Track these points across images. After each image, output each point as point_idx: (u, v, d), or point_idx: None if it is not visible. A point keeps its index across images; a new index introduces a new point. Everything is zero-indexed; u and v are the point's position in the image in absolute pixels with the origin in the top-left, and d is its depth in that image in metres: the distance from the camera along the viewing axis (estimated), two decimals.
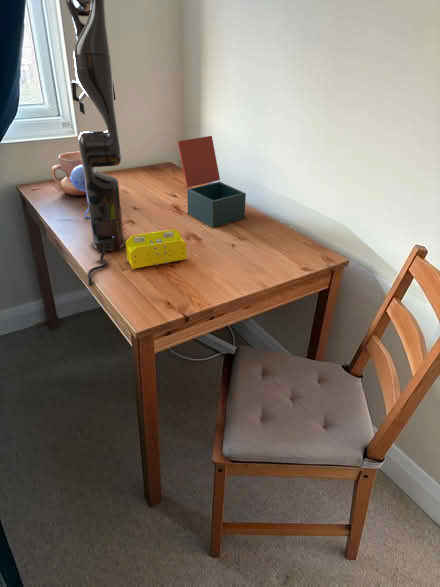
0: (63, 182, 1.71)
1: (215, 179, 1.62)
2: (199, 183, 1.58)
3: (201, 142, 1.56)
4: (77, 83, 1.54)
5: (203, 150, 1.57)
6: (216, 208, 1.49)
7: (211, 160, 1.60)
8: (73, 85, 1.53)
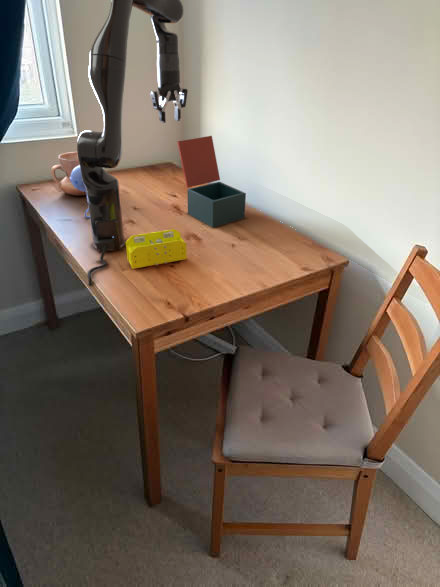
0: (63, 182, 1.71)
1: (215, 179, 1.62)
2: (199, 183, 1.58)
3: (201, 142, 1.56)
4: (157, 92, 1.52)
5: (203, 150, 1.57)
6: (216, 208, 1.49)
7: (211, 160, 1.60)
8: (155, 95, 1.52)
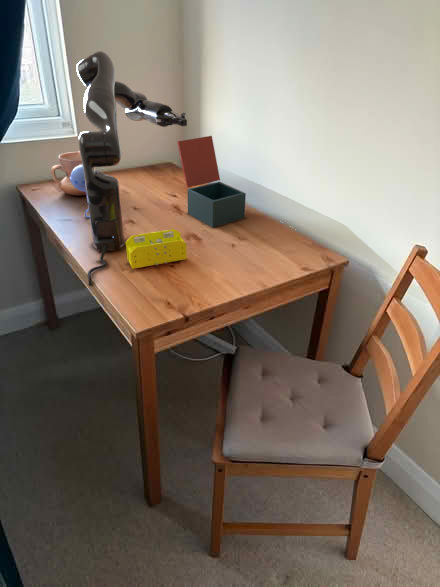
0: (63, 182, 1.71)
1: (215, 179, 1.62)
2: (199, 183, 1.58)
3: (201, 142, 1.56)
4: None
5: (203, 150, 1.57)
6: (216, 208, 1.49)
7: (211, 160, 1.60)
8: (158, 116, 1.59)
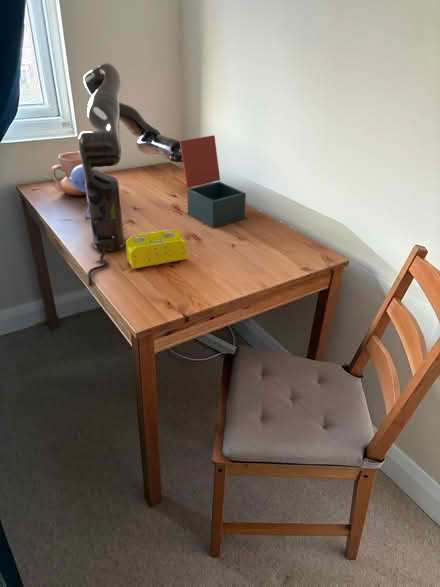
0: (63, 182, 1.71)
1: (215, 179, 1.61)
2: (199, 183, 1.58)
3: (203, 142, 1.55)
4: None
5: (205, 150, 1.56)
6: (216, 208, 1.49)
7: (213, 160, 1.59)
8: (173, 153, 1.59)
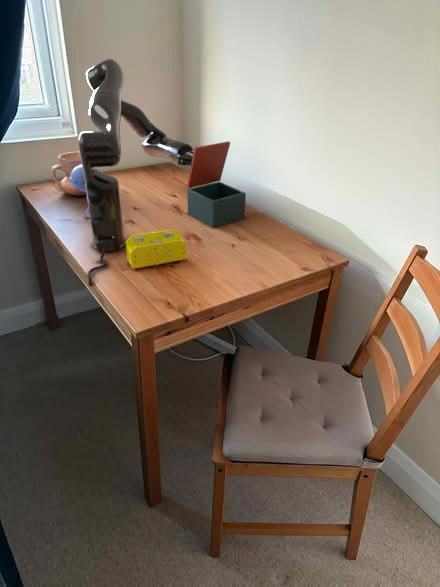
0: (63, 182, 1.71)
1: (216, 180, 1.61)
2: (200, 184, 1.58)
3: (217, 149, 1.50)
4: None
5: (216, 156, 1.53)
6: (216, 208, 1.49)
7: (220, 164, 1.57)
8: (180, 157, 1.56)
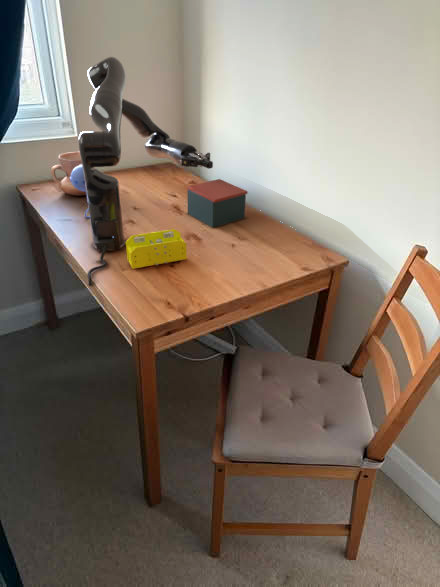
0: (63, 182, 1.71)
1: None
2: None
3: None
4: None
5: None
6: (216, 208, 1.49)
7: None
8: (183, 158, 1.55)
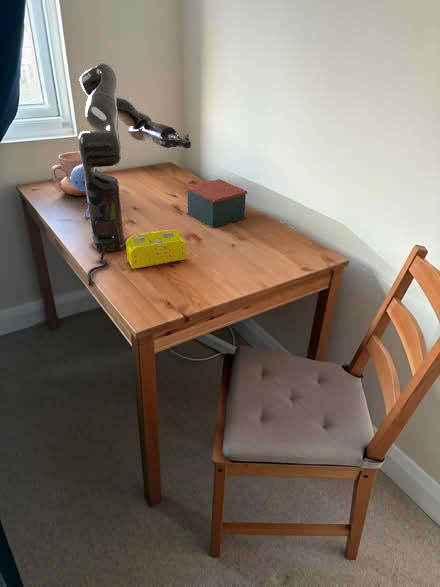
0: (63, 182, 1.71)
1: None
2: None
3: None
4: None
5: None
6: (216, 208, 1.49)
7: None
8: (163, 138, 1.61)
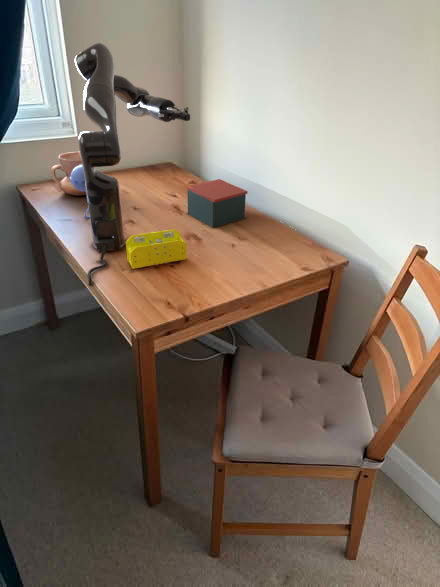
0: (63, 182, 1.71)
1: None
2: None
3: None
4: None
5: None
6: (216, 208, 1.49)
7: None
8: (161, 111, 1.56)
